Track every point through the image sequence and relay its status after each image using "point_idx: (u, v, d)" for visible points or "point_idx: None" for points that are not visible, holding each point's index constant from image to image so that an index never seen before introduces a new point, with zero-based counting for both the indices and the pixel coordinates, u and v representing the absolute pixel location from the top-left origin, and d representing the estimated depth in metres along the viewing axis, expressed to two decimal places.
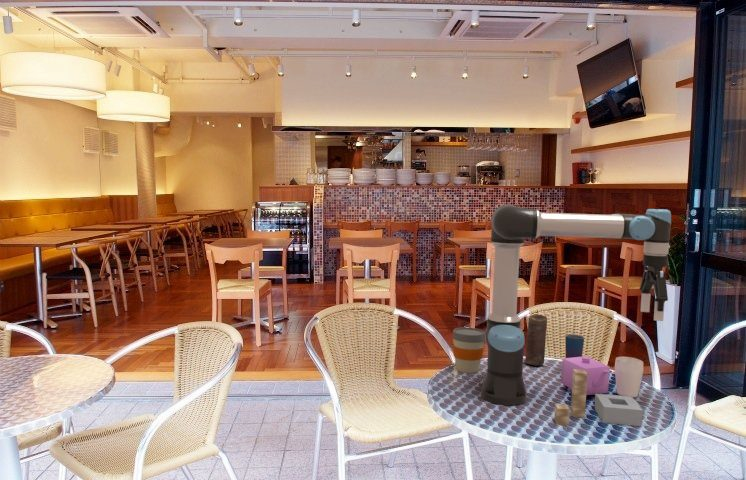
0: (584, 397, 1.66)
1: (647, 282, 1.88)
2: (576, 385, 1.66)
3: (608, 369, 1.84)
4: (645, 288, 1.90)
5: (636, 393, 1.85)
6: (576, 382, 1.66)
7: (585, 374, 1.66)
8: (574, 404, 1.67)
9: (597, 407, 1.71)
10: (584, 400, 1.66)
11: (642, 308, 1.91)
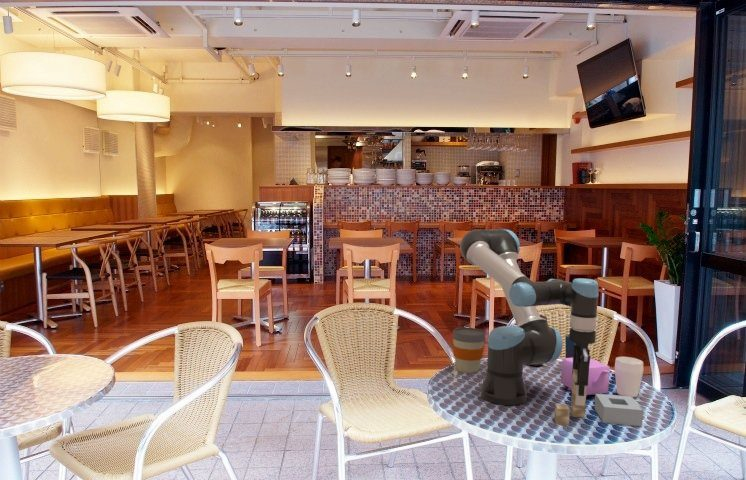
0: None
1: (577, 361, 1.69)
2: None
3: (608, 369, 1.84)
4: None
5: (636, 393, 1.85)
6: (576, 382, 1.66)
7: None
8: (574, 404, 1.67)
9: (597, 407, 1.71)
10: None
11: None
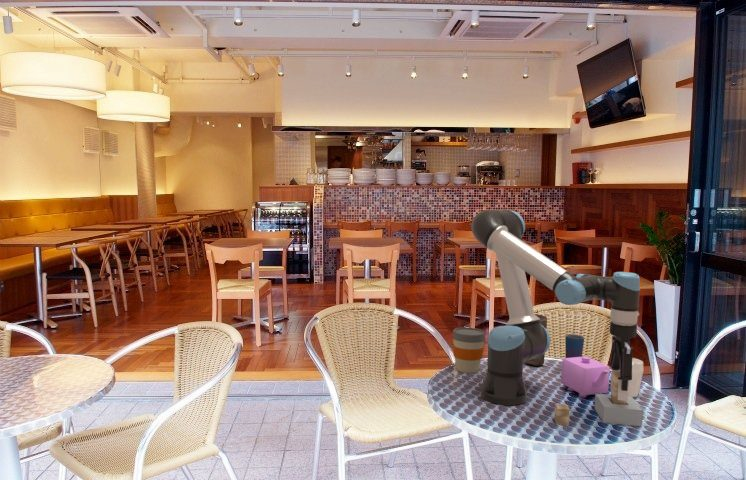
0: None
1: (616, 354, 1.69)
2: (616, 387, 1.66)
3: (608, 369, 1.84)
4: (615, 363, 1.70)
5: (636, 393, 1.85)
6: (616, 384, 1.65)
7: None
8: None
9: (597, 407, 1.71)
10: (624, 402, 1.65)
11: None
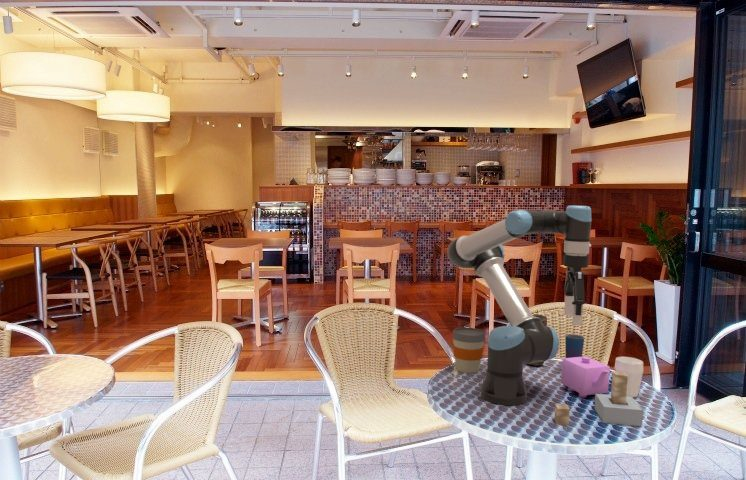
0: (624, 399, 1.65)
1: (569, 284, 1.75)
2: (616, 387, 1.66)
3: (608, 369, 1.84)
4: (568, 290, 1.78)
5: (636, 393, 1.85)
6: (616, 384, 1.65)
7: (625, 376, 1.65)
8: None
9: (597, 407, 1.71)
10: (624, 402, 1.65)
11: (565, 312, 1.79)
